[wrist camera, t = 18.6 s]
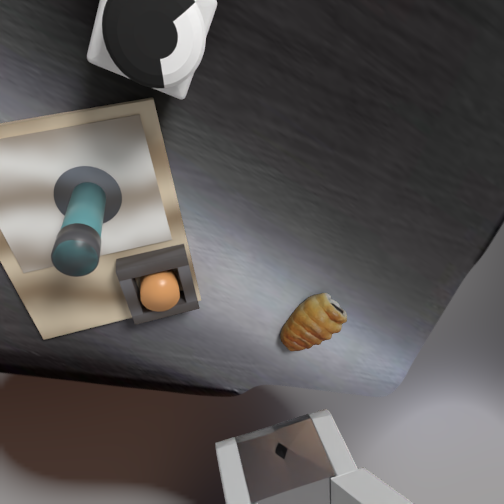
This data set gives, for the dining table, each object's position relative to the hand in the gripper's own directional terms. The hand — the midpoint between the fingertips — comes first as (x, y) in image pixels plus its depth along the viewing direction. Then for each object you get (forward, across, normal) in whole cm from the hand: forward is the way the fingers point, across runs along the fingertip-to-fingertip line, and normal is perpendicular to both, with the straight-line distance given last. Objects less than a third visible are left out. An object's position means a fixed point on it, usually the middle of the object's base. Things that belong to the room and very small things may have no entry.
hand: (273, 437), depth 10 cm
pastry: (+34, -13, +29) cm, 46 cm away
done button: (+32, +5, +16) cm, 36 cm away
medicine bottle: (+33, 0, -8) cm, 34 cm away
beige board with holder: (+33, +10, +9) cm, 36 cm away
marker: (+32, +9, +5) cm, 33 cm away
